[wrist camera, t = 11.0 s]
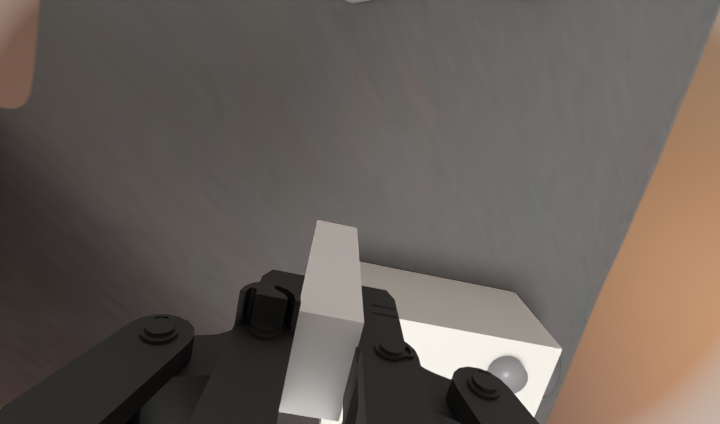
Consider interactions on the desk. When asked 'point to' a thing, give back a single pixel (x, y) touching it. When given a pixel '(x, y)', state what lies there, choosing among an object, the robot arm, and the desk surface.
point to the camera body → (470, 331)
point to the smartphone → (356, 1)
